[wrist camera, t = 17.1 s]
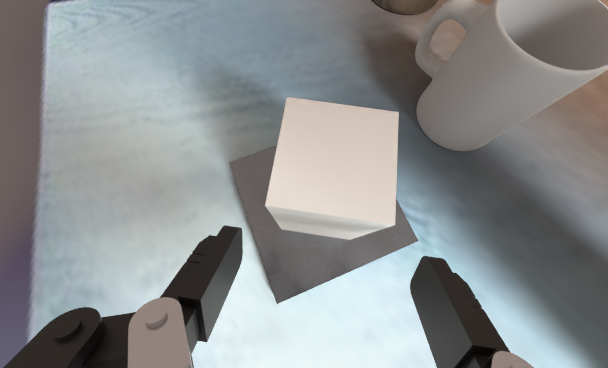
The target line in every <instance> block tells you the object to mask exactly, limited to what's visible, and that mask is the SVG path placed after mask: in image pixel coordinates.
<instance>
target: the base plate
mask: <svg viewBox="0 0 608 368" xmlns="http://www.w3.org/2000/svg"><path fill="white" fill-rule="evenodd" d="M276 149H277V146H275V147H272V148H269V149H267V150H264V151H261V152H258V153H255V154H253V155H250V156H247V157H244V158H241V159H238V160H236V161H233V162H230V166H231V169H232V172H233V175H234V178H235V181H236V184H237V187H238V190H239V193H240V196H241V199H242V202H243V205H244V208H245V211H246V214H247V217H248V220H249V223H250V226H251V229H252V232H253V234H254V237H255V240H256V243H257V246H258V249H259V252H260V255H261V258H262V261H263V264H264V267H265V270H266V273H267V276H268V279H269V282H270V285H271V288H272V291H273V294H274V297H275V300H276V303H277V304H278V303H280V302H282V301H285V300H287V299H289V298H291V297H294V296H296V295H298V294H300V293H303V292H305V291H307V290H309V289H312V288H314V287H316V286H318V285H321V284H323V283H325V282H327V281H330V280H332V279H334V278H336V277H338V276H341V275H343V274H345V273H347V272H350V271H352V270H354V269H356V268H359V267H361V266H363V265H365V264H368V263H370V262H372V261H374V260H377V259H379V258H381V257H383V256H386V255H388V254H390V253H392V252H395V251H397V250H399V249H401V248H404V247H406V246H408V245H410V244H413V243H415V242H417V241H418V239H417V237H416V236H415V234H414V232H413V230H412V228H411V226H410V224H409V222H408V220H407V219H406V217H405V215H404V213H403V211H402V209H401V207H400V205H399V204H398V202H397V200H396V214H395V225H394V226H391V227H387V228H384V229H381V230H378V231H375V232H372V233H369V234H366V235H363V236H360V237H357V238H354V239H351V240H348V239H341V238H334V237H328V236H321V235H315V234H308V233H302V232H295V231H289V230H282V229H281V228H280V227H279V225H278V224H277V222H276V221H275V219H274V218H273V216H272V215H271V213H270V212H269V211H268V209H267V208H266V206H265V203H266V198H267V193H268V188H269V183H270V178H271V174H272V169H273V164H274V159H275V154H276Z"/></svg>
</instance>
